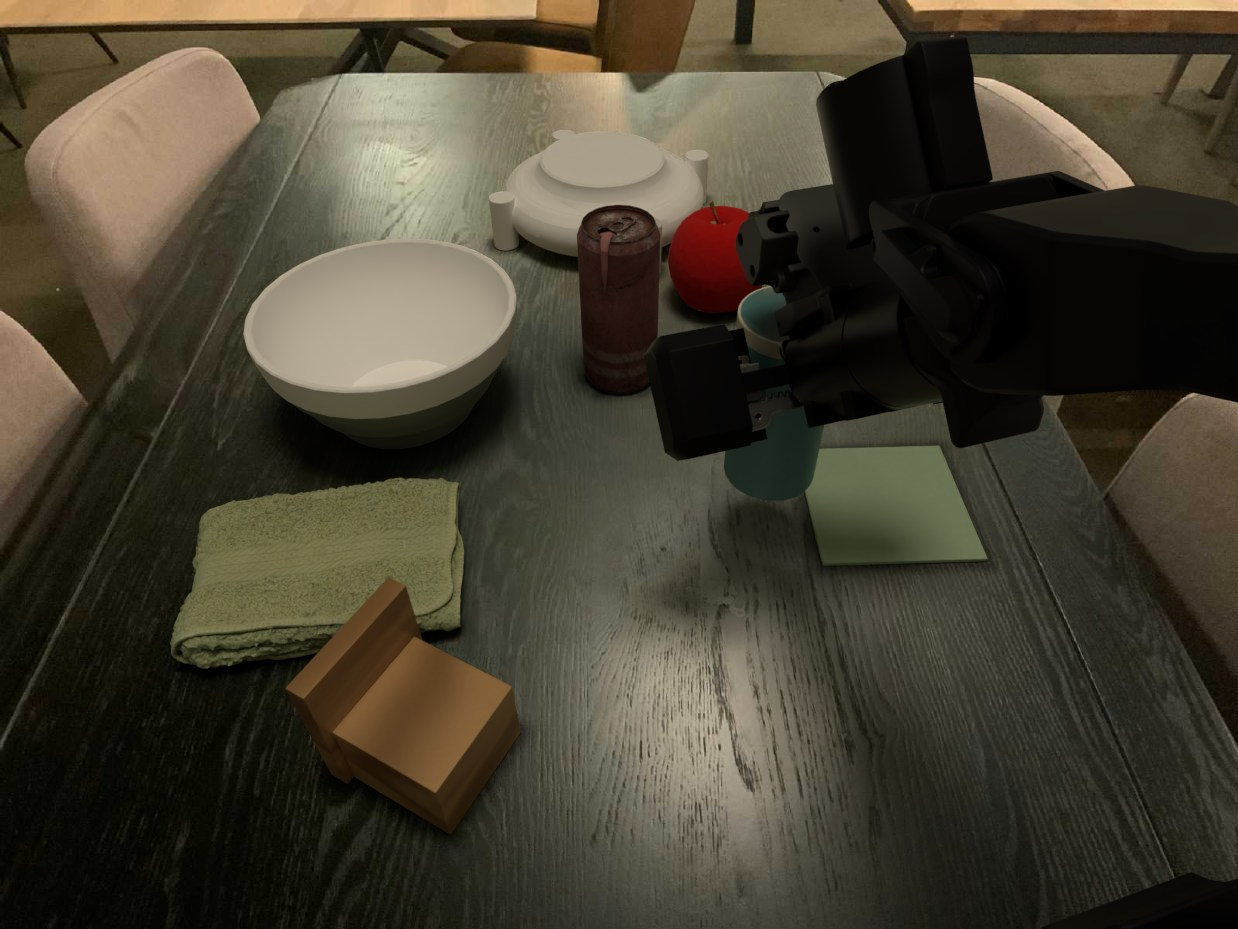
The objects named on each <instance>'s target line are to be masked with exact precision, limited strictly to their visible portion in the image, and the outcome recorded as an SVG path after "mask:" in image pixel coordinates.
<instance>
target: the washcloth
mask: <svg viewBox="0 0 1238 929" xmlns="http://www.w3.org/2000/svg"><path fill="white" fill-rule="evenodd" d="M460 488H461V487H460V483H459V482H457V481H453V482H452V481H448V480H446V479H445V478H443V477H440V478H429V479H425V478H417V477H416V478H412V477H410V478H406V479H405V478H404V477H395V478H389V479H386V480H384V481H378V480H377V481H375V482H373V483H371V482H370V481H368V482H366V483H363V484H353V485H348V486H345V485H342V486H340V487H337V488H333V487H329V488H326V489H318V490H312V491H306V492H303V491H301V492H298V493H296V494H289V493H286V492H285V493H278V492H277V493H274V494H272V495H269V494H268V495H263V496H260V497H254V498H249V499H242V500H237V501H236V500H234V499H233V500H231V501H230V502H227V503H224V504H222V505H219V506H218V505H217V506H215V507H211V508H210V509H208V510H207V511H206V512H205V513H204V514H202V516H201V518H200V520H199V522H198V524H199V527H198V534H197V540H196V547H195V550H196V551H195V556H194V557H193V559H192V566H193V572H194V573H195V574H194V576H193V583H192V587H191V592H189V593H188V595H187V596H186V598H185V599H184V601H183V602H184V603H183V604H181V606H180V607H179V611H180V612H179V613H178V615H177V618H176V620H175V622H174V624H173V628H172V629H173V632H172V637H171V638H170V655H171V657H172V658H173V659H175V660H176V661H177V662H180V663H183V664H188V665H194V666H196V667H197V668H199V669H209V668H212V669H215V668H217V669H218V668H220V667H225V666H227V667H232V666H236V665H239V664H241V663H242V662H254V661H263V660H274V661H282V660H288V659H295V658H300V657H307V656H310V655H315V654H317V653H318V652H319V651H320V650H321V649H322V648H323V647H324V646H325V645H326V644H327V643H328V642H329V641H330V639H331V638H332V637H333V636H334V635H335V634H336V633H337V632H338V631H339V630H340V629H341V628H342V627H343V626H344V624H345V623H346V622H347V621H348V620H349V619H350V618H351V617H352V616H353V615H354V614H355V613H356V612H357V610H358V609H359V608H360V607H361V606H362V605H363V604H364V603H365V602H366V601H367V600H368V599H369V598H370V597H371V595H372V594H373V593H374V592H375V591H376V590H377V589H378V588H379V587H380V586H381V585H382V584H383V583H384V582H385V580H386V579H387V578H388V577H389V578H391V579H393V580H395V581H398V582H400V583H402V584H404V585H406V588H407V591H408V594H409V597H410V601H411V604H412V607H413V611H414V614H415V617H416V620H417V624H418V627H419V630H420V634H423V633H424V632H432V631H434V632H436V631H439V630H440V631H445V632H451V631H453V630H455V629H458V628H461V601H462V599H461V592H462V583H463V575H464V565H465V548H464V542H463V536H462V535H461V533H460V531H459V503H460V502H459V501H460V493H461V490H460Z"/></svg>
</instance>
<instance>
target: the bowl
mask: <svg viewBox="0 0 1238 929" xmlns="http://www.w3.org/2000/svg"><path fill="white" fill-rule="evenodd" d="M517 299H518V298H517V292H516V288H515V285H514V282H513V280H512V279H511V277H510V275H508V273H507V272H506V270H505V269H504V268H503V267H502V266H501V265H499V264H498V263H497V262H496V261H494V260H493V259H492V258H490V257H488V256H486V255H484V254H482V253H481V252H479V251H477V250H475V249H472V248H470V247H466V246H464V245H460V244H457V243H452V242H448V241H442V240H437V239H427V238H426V239H425V238H414V237H413V238H388V239H379V240H371V241H364V242H361V243H356V244H351V245H347V246H342V247H340V248H337V249H333V250H330V251H327V252H325V253H321V254H319V255H316V256H315V257H312V258H309V259H308V260H306V261H303V262H301V263H299V264H298V265H295V266H294V267H293V268H291V269H289V270H287V271H286V272H284V273H283V274H281V275H279V276H278V277H277V278H276V279H275V280H274V281H272V282H271V283H270V284H268V285H267V286H266V287H264V289H263V290H262V292H261V293H260V294H259V296H258V297H256V299H255V301H253V303H252V304H251V306H250V308H249V310H248V313H247V315H246V316H245V319H244V326H243V338H244V343H245V347H246V351H247V352H248V354H249V357H250V359H251V360H252V362H253V364H254V365H255V367H256V369H257V370H258V371H259V373H260V374H261V376H262V377H263V379H264V380H265V381H266V383H267V384H268V385H269V387H271V389H272V390H273V391H274V392H275V393H276V394H277V395H279V396H280V397H281V398H282V399H284V400H285V401H286V402H288V403H290V404H291V405H293V406H294V407H295V408H296V409H298V410H300V411H301V412H303V413H304V414H306V415H308V416H311V417H313V418H314V419H315V420H317V421H318V422H319V423H320V424H322V425H324V426H325V427H327V428H330V429H332V430H334V431H336V432H339V433H341V434H344V435H345V436H346V437H348V438H349V439H350V440H352V441H354V442H356V443H358V444H360V445H362V446H366V447H369V448H374V449H382V450H404V449H410V448H416V447H420V446H424V445H427V444H430V443H433V442H435V441H437V440H440V439H441V438H443V437H445V436H448V434H450V433H452V432H453V431H455V430H456V429H457V428H459V426H461V425H462V424H463V423H464V422H465V421H466V419H467V418H468V417H469V415H470V414H471V412H472V410H473V407H474V406H475V405H476V404H477V403H478V401H479V400H481V398H482V397H483V395H484V394H485V392H486V391H488V388H489V386H490V385H491V382H492V380H493V378H494V377H495V375H496V374H497V373H498V372H499V370H500V368H501V366H502V364H503V362H504V361H505V358H506V357H507V356H508V353H509V351H510V348H511V346H512V344H513V342H514V337H515V331H516V325H517V314H518V304H517V302H518V300H517Z"/></svg>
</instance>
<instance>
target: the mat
mask: <svg viewBox="0 0 1238 929" xmlns="http://www.w3.org/2000/svg"><path fill="white" fill-rule="evenodd" d="M803 493H804V497H805V502H806V505H807V509H808V513H809V517H810V521H811V525H812V529H813V534H814V537H815V542H816V545H817V546H816V547H817V550H818V554H819V557H820V561H821V565H822V567H833V566H835V567H837V566H869V565H871V566H872V565H873V566H874V565H909V564H910V565H911V564H942V563H944V564H945V563H978V562H980V563H981V562H987V561H988V559H989V558H988V556H987V553H986V552H985V549H984V546H983V544H982V542H981V539H980V537H979V535H978V533H977V530H976V528H975V525H974V523H973V521H972V518H971V516H970V513H969V511H968V510H967V507H966V505H965V502H964V500H963V497H962V495H961V492H960V490H959V489H958V486H957V484H956V482H955V479H954V476H953V474H952V472H951V469H950V467H949V464H948V462H947V460H946V458H945V455H944V453H943V451H942V448H941V446H940V445H908V446H874V447H873V446H870V447H837V448H832V447H831V448H820V449H819V453H818V458H817V463H816V468H815V473H814V478H813V481H812V483H811V485H810V486H809V487H808V489H807V490H805V491H804V492H803Z"/></svg>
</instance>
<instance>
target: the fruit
mask: <svg viewBox="0 0 1238 929" xmlns="http://www.w3.org/2000/svg"><path fill="white" fill-rule="evenodd" d="M708 205H709V206H705V207H702V209H699V210H697V211H695V212H693V213H692V214H690V215H689V216H688V217H686V218H685V219H684V220H683V221H682V222H681V224H680V225H679V227H678V228H677V230H676V232H675V234H674V236H673V239H672V242H671V243H670V244H669V249H668V257H667V258H668V259H667V266H668V271H669V276H670V279H671V281H672V284H673V287H674V288H675V290H676V292H677V294H678V295H679V297H680V298H681V300H682V301H683V302H685V304H686V305H687V306H688V307H690V308H691V309H694V310H695V311H697V312H702V313H705V314H718V313H729V312H734V311H736V310H738V307H739V305H740V303H741V301H742V300H743V299H744V298H745V297H746V296H747V295H749V294H750V293H752V292H754V291H756V290H758V289H761V288H763V285H760V286H752V285H751V284H749V283H748V281H747V278H746V276H745V273H744V270H743V268H742V265H741V262H740V260H739V257H738V254H737V252H736V245H735V239H736V236H737V233H738V231H739V228H740V226H741V224H742V222H743V221H745V220H747V219H748V215H749V213H750V212H748V211H746V210H744V209H741V208H739V207H734V206H728V205H715V203H714V201H713V199H711V200H710V201H708Z"/></svg>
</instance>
